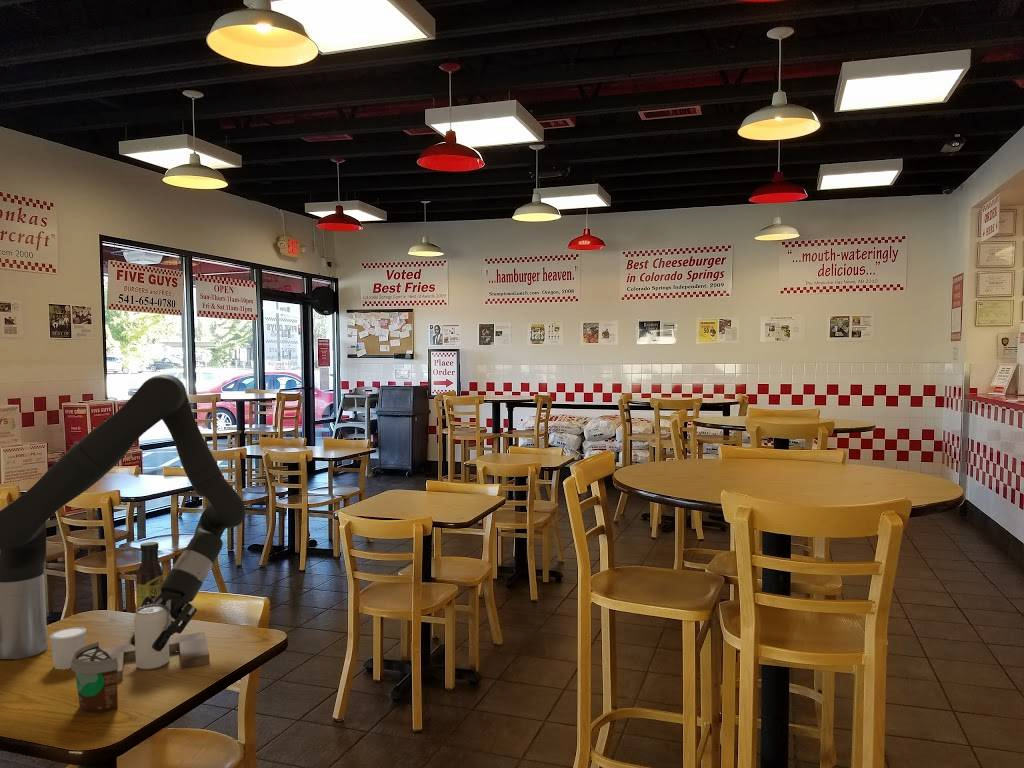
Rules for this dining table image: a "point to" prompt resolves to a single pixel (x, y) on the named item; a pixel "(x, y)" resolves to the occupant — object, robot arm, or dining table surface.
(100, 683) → the food container
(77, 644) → the white short cylinder
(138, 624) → the can
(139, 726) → the dining table surface
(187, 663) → the notched board
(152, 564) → the sauce bottle
